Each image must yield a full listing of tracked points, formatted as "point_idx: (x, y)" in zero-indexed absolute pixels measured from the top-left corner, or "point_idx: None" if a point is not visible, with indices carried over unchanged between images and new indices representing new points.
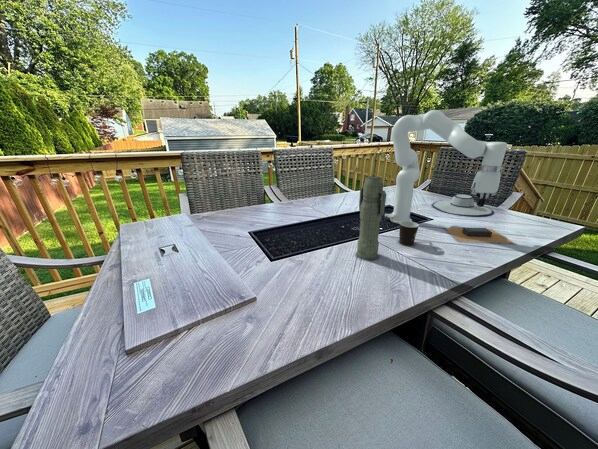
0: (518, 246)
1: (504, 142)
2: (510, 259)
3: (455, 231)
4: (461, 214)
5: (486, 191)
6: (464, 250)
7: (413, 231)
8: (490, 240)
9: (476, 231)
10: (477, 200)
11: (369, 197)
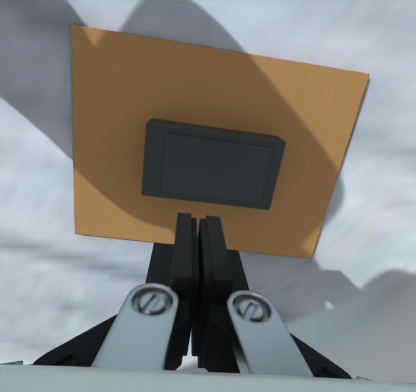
0: (308, 279)
1: None
2: (186, 363)
3: (115, 104)
4: None
5: None
6: (58, 307)
7: None
8: (230, 234)
9: (186, 197)
10: (148, 274)
11: None
